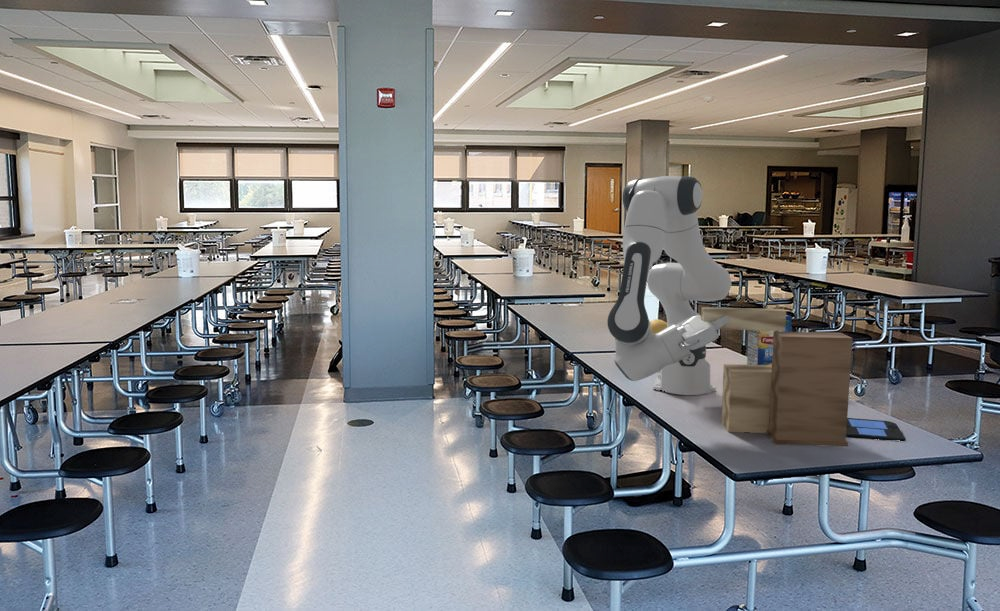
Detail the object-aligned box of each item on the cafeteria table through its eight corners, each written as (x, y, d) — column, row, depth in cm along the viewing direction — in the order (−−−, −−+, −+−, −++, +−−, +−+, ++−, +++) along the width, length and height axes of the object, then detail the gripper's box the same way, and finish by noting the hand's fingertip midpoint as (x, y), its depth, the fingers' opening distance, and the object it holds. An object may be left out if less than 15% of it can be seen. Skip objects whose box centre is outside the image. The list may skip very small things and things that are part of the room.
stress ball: (664, 348, 312) (679, 331, 315) (650, 330, 310) (664, 313, 313) (650, 348, 321) (664, 331, 324) (636, 331, 319) (650, 314, 322)
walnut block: (766, 434, 194) (771, 331, 190) (835, 436, 192) (842, 332, 189) (775, 444, 185) (780, 337, 182) (847, 446, 184) (854, 338, 181)
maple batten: (701, 326, 199) (701, 307, 198) (781, 328, 197) (782, 308, 196) (703, 328, 195) (704, 309, 194) (785, 330, 193) (786, 310, 193)
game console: (842, 439, 192) (842, 430, 191) (834, 424, 204) (835, 416, 204) (906, 444, 188) (907, 435, 188) (894, 429, 200) (895, 420, 200)
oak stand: (721, 422, 204) (724, 358, 202) (807, 424, 202) (811, 360, 200) (728, 432, 195) (731, 365, 193) (818, 434, 193) (822, 367, 191)
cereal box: (745, 381, 251) (748, 313, 249) (776, 379, 253) (780, 313, 251) (756, 385, 245) (759, 316, 242) (788, 384, 247) (791, 316, 244)
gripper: (676, 338, 187) (728, 311, 185) (665, 325, 208) (712, 300, 206) (688, 361, 188) (740, 333, 186) (677, 345, 208) (723, 321, 206)
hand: (725, 316), depth 196 cm, fingers closed on maple batten, 3 cm apart
